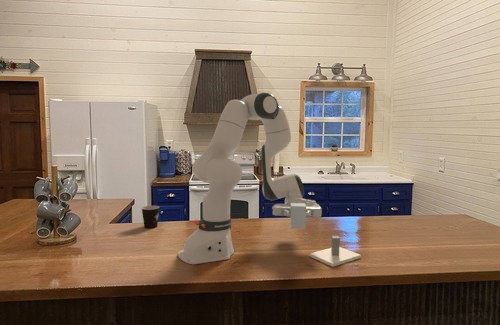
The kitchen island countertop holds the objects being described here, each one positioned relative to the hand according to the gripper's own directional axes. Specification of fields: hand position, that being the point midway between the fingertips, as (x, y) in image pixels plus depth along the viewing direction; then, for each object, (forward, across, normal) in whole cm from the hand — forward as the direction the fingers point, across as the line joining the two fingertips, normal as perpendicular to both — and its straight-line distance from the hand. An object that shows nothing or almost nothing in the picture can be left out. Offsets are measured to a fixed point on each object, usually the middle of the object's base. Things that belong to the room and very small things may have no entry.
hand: (298, 214), depth 136 cm
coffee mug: (-34, -71, +17) cm, 80 cm away
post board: (+2, +15, +16) cm, 22 cm away
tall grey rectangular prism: (-1, 0, +5) cm, 5 cm away
